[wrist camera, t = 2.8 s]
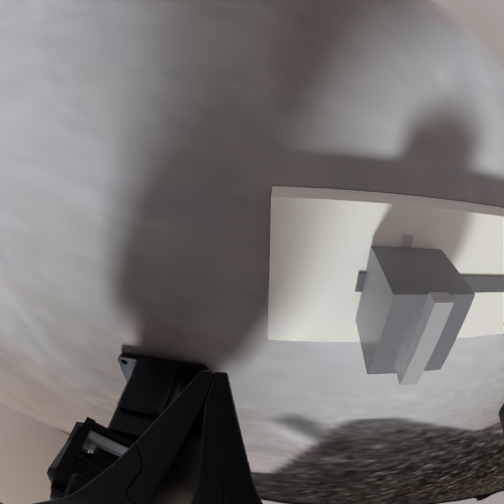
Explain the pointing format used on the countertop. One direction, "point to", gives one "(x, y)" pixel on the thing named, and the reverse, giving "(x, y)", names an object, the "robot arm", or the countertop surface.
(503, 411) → the coffee mug
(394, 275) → the fader knob
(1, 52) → the countertop surface
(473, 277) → the fader console
